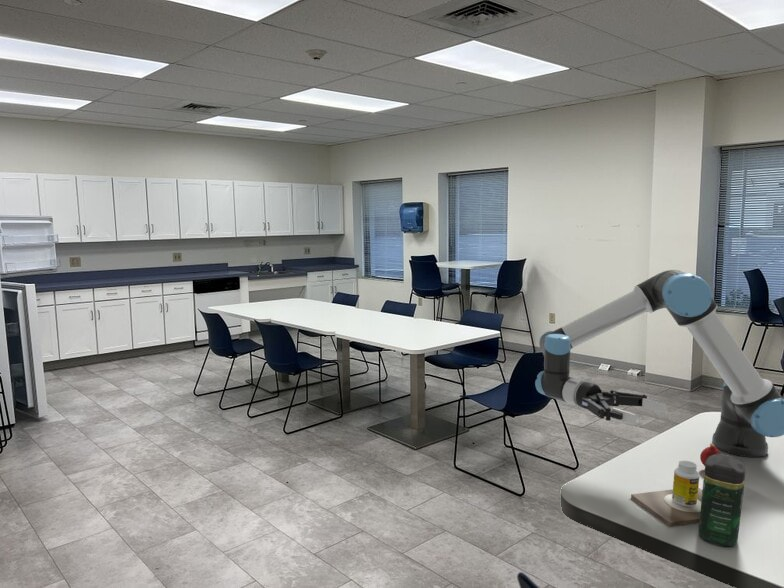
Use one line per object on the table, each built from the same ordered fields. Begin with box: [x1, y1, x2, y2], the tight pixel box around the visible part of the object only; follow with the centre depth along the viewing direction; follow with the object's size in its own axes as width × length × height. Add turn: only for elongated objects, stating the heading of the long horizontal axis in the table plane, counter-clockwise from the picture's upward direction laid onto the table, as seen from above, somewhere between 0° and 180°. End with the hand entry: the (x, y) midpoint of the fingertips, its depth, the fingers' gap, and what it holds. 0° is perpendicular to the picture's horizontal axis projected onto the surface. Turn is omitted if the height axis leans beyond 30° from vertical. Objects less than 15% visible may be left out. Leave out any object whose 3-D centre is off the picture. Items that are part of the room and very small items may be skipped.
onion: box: [699, 443, 723, 467], centre depth 163 cm, size 6×6×8 cm
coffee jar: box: [698, 453, 746, 547], centre depth 128 cm, size 10×8×19 cm
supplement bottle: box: [672, 460, 700, 507], centre depth 142 cm, size 6×6×10 cm
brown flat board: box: [630, 487, 703, 527], centre depth 143 cm, size 20×14×1 cm
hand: (651, 414), depth 148 cm, fingers open, 13 cm apart
